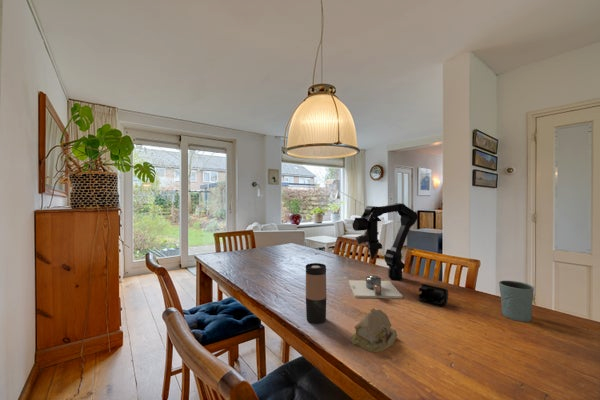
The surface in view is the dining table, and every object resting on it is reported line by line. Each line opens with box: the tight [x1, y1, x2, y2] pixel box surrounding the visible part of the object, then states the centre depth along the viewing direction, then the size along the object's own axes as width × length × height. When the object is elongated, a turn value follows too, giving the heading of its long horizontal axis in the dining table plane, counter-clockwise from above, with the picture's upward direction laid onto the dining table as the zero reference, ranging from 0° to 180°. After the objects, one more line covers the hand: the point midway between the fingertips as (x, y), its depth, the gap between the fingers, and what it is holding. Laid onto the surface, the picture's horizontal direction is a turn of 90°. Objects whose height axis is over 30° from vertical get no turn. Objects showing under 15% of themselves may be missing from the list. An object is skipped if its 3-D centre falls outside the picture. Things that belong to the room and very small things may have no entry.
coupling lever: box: [365, 274, 382, 294], centre depth 122 cm, size 16×7×5 cm, turn 174°
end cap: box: [418, 283, 449, 309], centre depth 111 cm, size 10×7×7 cm
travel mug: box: [305, 262, 327, 325], centre depth 96 cm, size 8×8×20 cm
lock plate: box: [348, 279, 404, 299], centre depth 126 cm, size 21×21×1 cm
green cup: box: [498, 280, 535, 323], centre depth 97 cm, size 10×10×12 cm
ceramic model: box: [350, 308, 398, 353], centre depth 82 cm, size 14×11×10 cm
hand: (372, 259), depth 138 cm, fingers closed
